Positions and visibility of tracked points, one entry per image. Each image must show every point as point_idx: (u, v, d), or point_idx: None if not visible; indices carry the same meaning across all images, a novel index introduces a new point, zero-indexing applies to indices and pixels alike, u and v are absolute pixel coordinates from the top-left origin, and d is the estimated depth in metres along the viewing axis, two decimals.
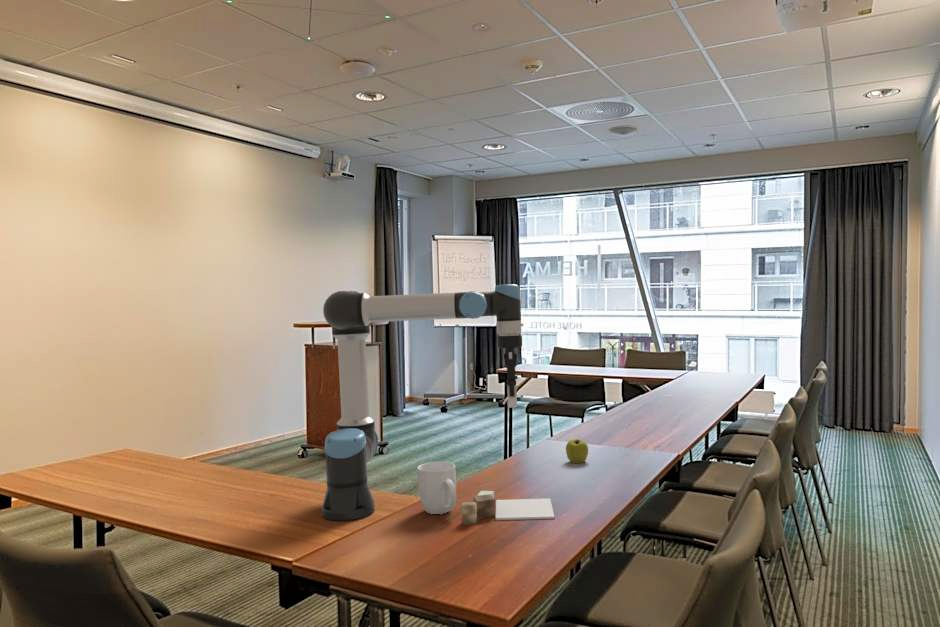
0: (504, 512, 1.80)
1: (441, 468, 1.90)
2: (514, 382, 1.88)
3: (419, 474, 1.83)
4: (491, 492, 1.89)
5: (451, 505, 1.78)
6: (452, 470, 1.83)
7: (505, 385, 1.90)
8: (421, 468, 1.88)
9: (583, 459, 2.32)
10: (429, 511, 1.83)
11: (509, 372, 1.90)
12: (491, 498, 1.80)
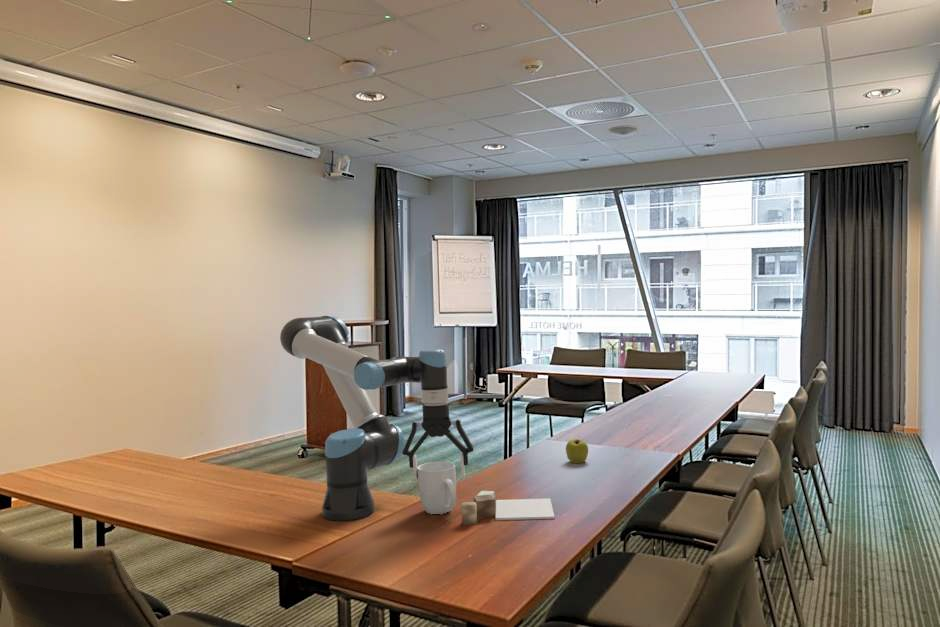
0: (504, 512, 1.80)
1: (441, 468, 1.90)
2: None
3: (419, 474, 1.83)
4: (491, 492, 1.89)
5: (451, 505, 1.78)
6: (452, 470, 1.83)
7: None
8: (421, 468, 1.88)
9: (583, 459, 2.32)
10: (429, 511, 1.83)
11: None
12: (491, 498, 1.80)
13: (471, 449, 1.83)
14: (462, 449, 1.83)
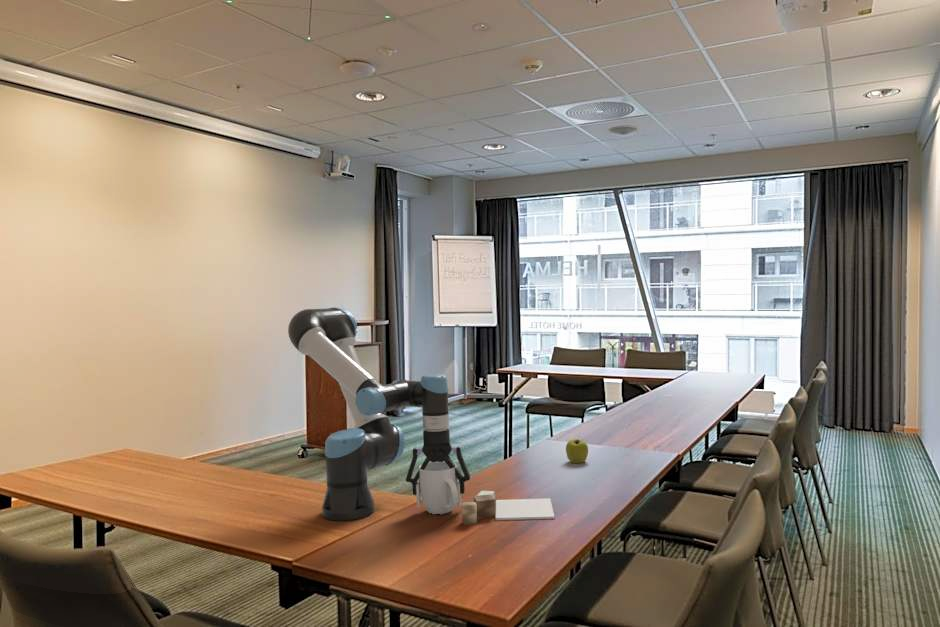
0: (504, 512, 1.80)
1: (442, 468, 1.90)
2: None
3: (420, 474, 1.83)
4: (491, 492, 1.89)
5: (453, 505, 1.78)
6: (453, 470, 1.83)
7: None
8: None
9: (583, 459, 2.32)
10: (431, 511, 1.83)
11: None
12: (491, 498, 1.80)
13: (468, 478, 1.83)
14: (459, 477, 1.83)
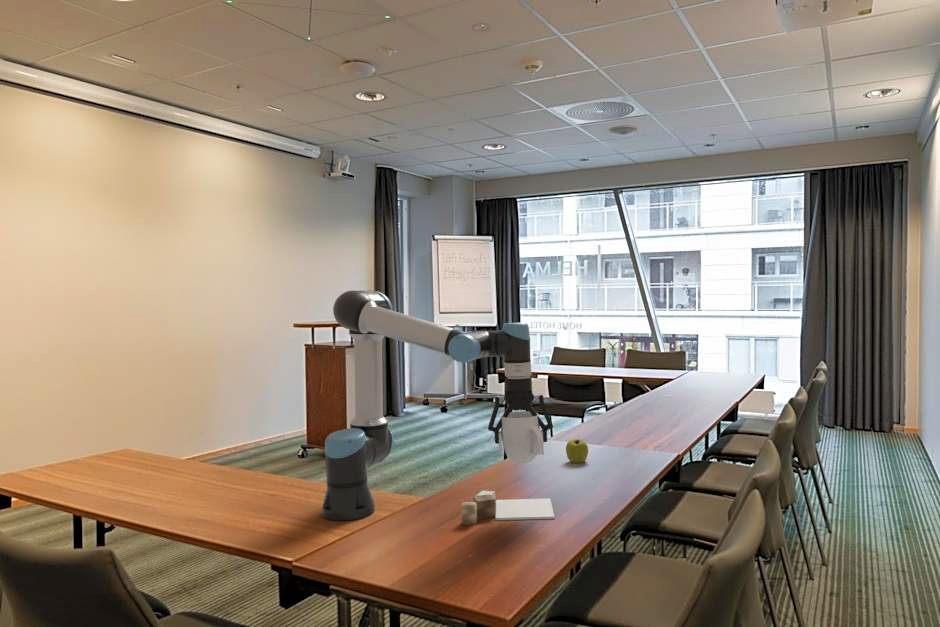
0: (504, 512, 1.80)
1: (522, 418, 1.89)
2: (488, 428, 1.83)
3: (503, 422, 1.81)
4: (492, 492, 1.89)
5: (538, 452, 1.77)
6: (537, 418, 1.81)
7: None
8: None
9: (583, 459, 2.32)
10: (514, 459, 1.81)
11: (491, 417, 1.84)
12: (491, 498, 1.80)
13: (551, 426, 1.81)
14: (542, 425, 1.82)
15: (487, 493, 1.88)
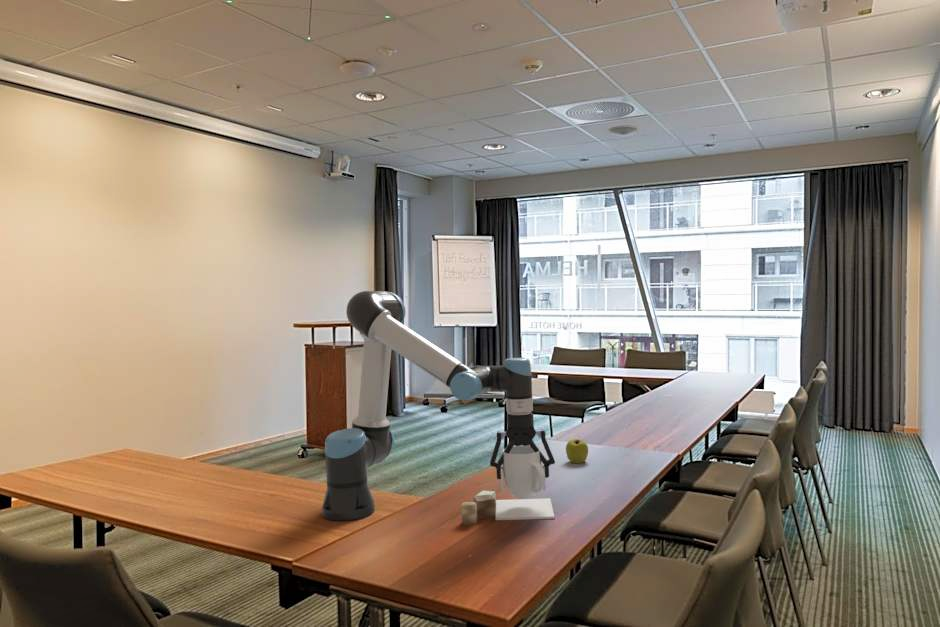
0: (504, 512, 1.80)
1: (524, 452, 1.89)
2: (490, 464, 1.83)
3: (505, 458, 1.81)
4: (492, 492, 1.89)
5: (540, 488, 1.77)
6: (538, 453, 1.81)
7: None
8: None
9: (583, 459, 2.32)
10: (516, 495, 1.81)
11: None
12: (491, 498, 1.80)
13: (553, 461, 1.82)
14: (544, 461, 1.82)
15: (487, 493, 1.88)
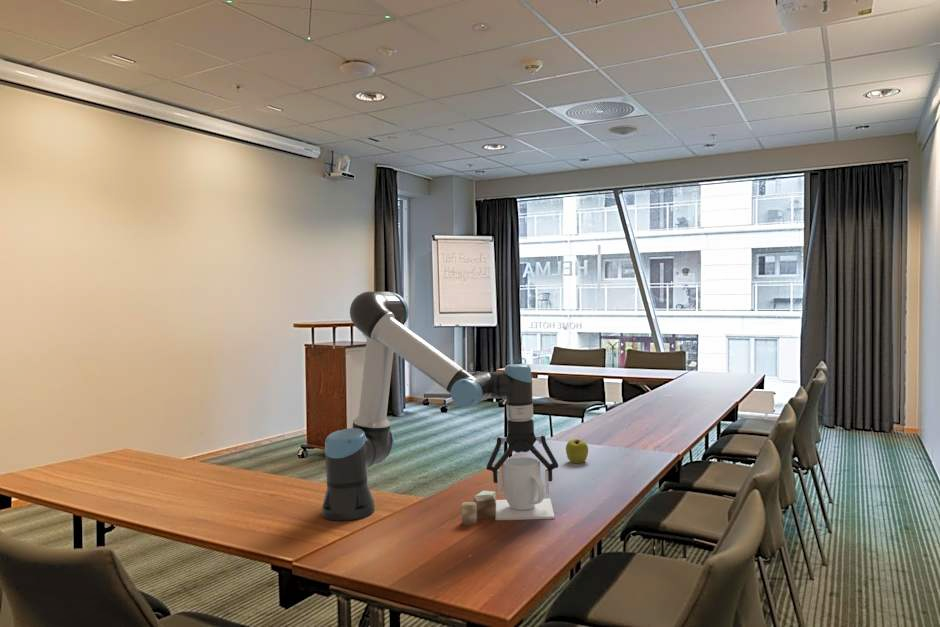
0: (504, 512, 1.80)
1: (523, 464, 1.89)
2: None
3: (504, 469, 1.82)
4: (492, 492, 1.88)
5: (539, 500, 1.77)
6: (538, 465, 1.82)
7: None
8: (504, 463, 1.86)
9: (583, 459, 2.32)
10: (514, 506, 1.81)
11: None
12: (491, 498, 1.80)
13: (556, 465, 1.82)
14: (547, 465, 1.82)
15: (487, 493, 1.88)
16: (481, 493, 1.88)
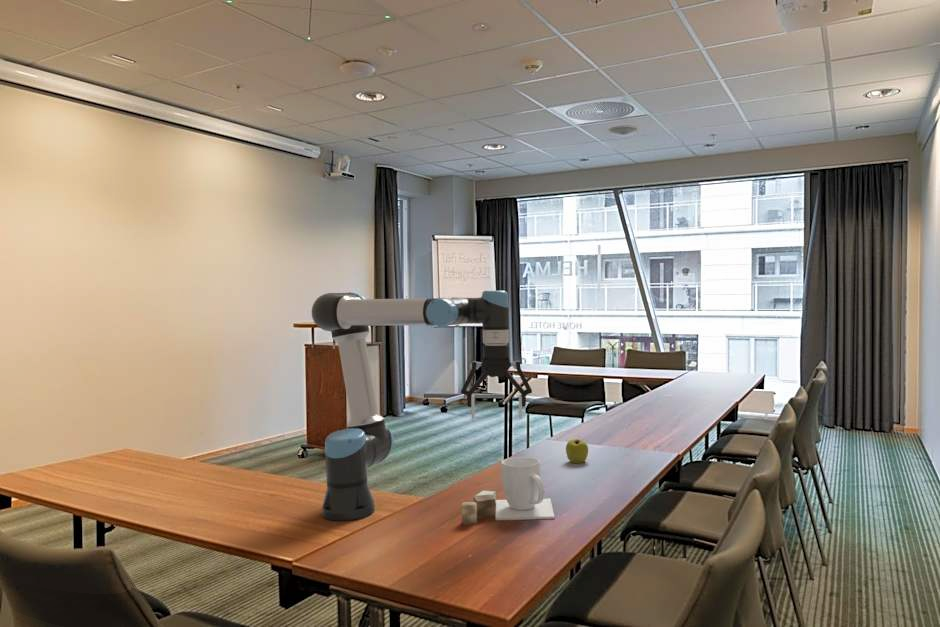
0: (504, 512, 1.80)
1: (523, 464, 1.89)
2: (461, 391, 1.85)
3: (504, 469, 1.82)
4: (492, 492, 1.88)
5: (539, 500, 1.77)
6: (538, 465, 1.81)
7: None
8: (504, 463, 1.86)
9: (583, 459, 2.32)
10: (514, 507, 1.81)
11: None
12: (491, 498, 1.80)
13: (530, 391, 1.83)
14: (521, 390, 1.84)
15: (487, 493, 1.88)
16: (481, 493, 1.88)
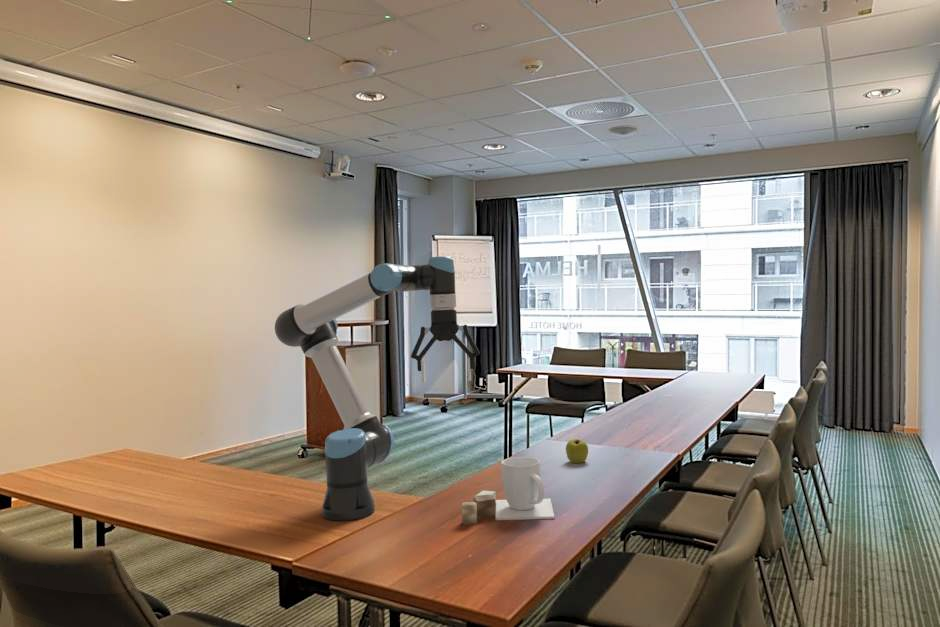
0: (504, 512, 1.80)
1: (523, 464, 1.89)
2: (411, 356, 1.90)
3: (504, 469, 1.82)
4: (492, 492, 1.88)
5: (539, 500, 1.77)
6: (538, 465, 1.81)
7: None
8: (504, 463, 1.86)
9: (583, 459, 2.32)
10: (514, 507, 1.81)
11: None
12: (491, 498, 1.80)
13: (478, 353, 1.88)
14: (469, 353, 1.88)
15: (487, 493, 1.88)
16: (481, 493, 1.88)
